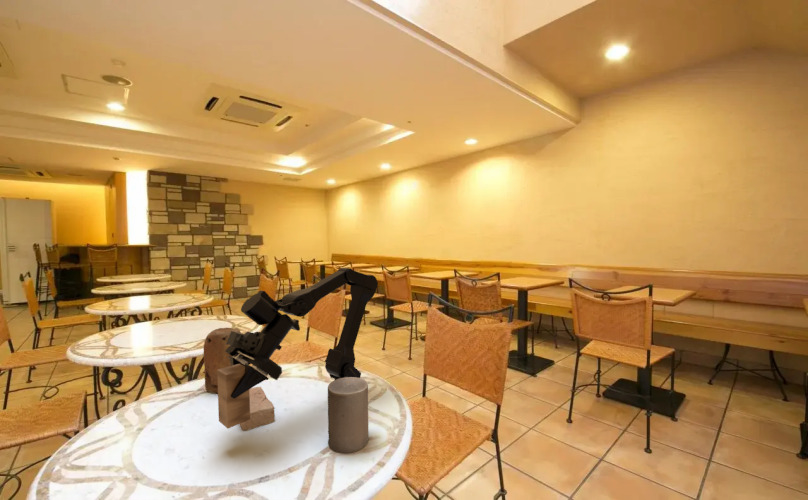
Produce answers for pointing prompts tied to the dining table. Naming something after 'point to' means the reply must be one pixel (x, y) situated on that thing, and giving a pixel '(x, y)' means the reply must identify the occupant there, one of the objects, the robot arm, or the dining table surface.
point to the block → (216, 356)
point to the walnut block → (231, 408)
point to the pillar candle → (348, 414)
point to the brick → (259, 410)
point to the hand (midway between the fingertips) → (227, 394)
